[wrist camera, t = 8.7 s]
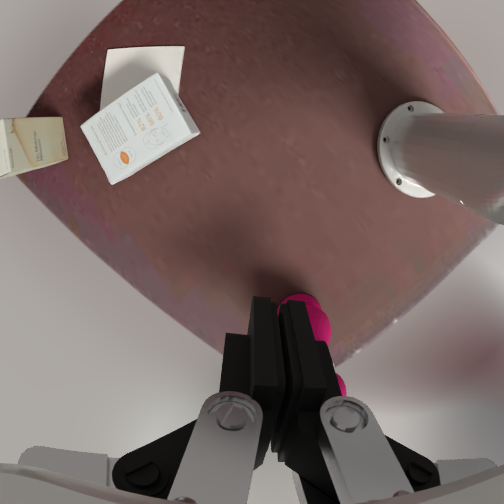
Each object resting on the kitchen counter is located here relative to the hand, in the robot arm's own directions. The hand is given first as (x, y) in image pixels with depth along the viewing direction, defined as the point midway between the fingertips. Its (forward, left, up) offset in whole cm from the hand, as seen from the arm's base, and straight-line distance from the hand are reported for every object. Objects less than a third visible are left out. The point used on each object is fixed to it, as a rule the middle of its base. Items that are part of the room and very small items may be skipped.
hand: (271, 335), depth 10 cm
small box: (+9, -9, -26) cm, 29 cm away
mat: (+16, -10, -29) cm, 34 cm away
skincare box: (+28, -4, -29) cm, 41 cm away
